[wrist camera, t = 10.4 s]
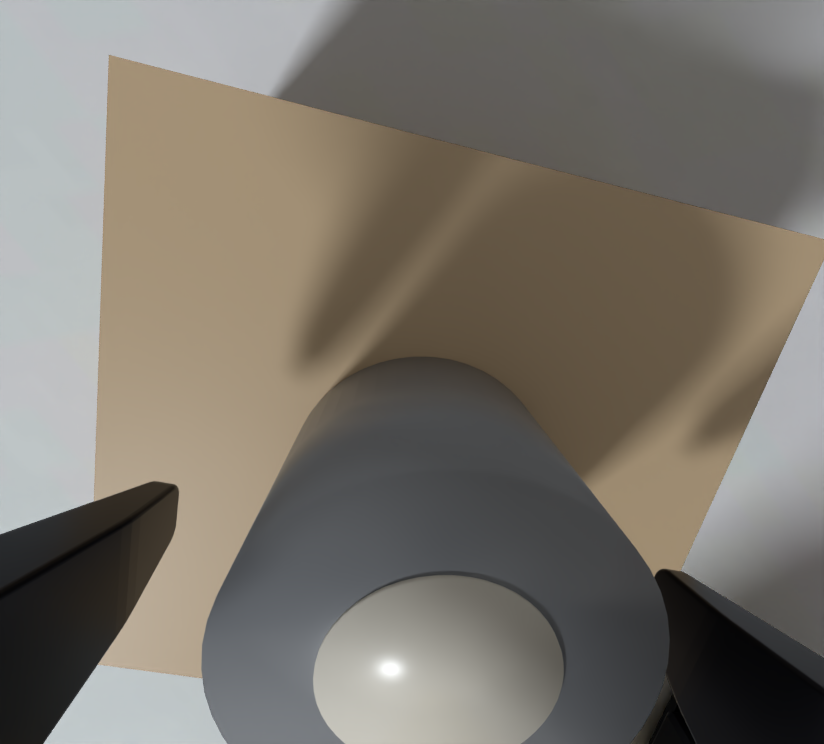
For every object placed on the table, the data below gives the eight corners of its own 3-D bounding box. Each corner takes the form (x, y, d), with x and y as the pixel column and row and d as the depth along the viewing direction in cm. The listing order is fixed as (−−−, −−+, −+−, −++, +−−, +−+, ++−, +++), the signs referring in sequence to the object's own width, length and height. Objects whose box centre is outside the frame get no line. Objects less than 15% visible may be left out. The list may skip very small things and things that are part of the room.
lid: (806, 241, 10) (832, 241, 9) (597, 711, 14) (606, 732, 13) (128, 67, 9) (108, 55, 8) (102, 643, 12) (88, 663, 12)
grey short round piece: (578, 386, 10) (751, 524, 5) (505, 599, 12) (584, 856, 7) (313, 330, 9) (225, 426, 5) (274, 563, 11) (179, 816, 6)
